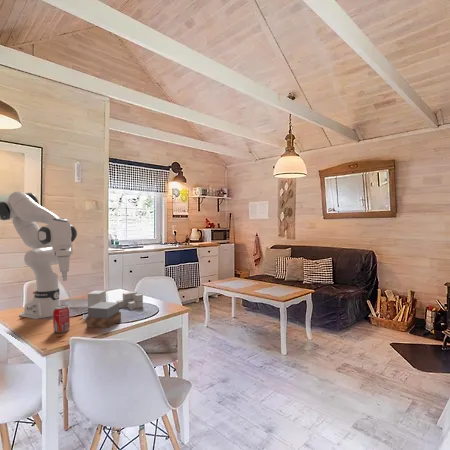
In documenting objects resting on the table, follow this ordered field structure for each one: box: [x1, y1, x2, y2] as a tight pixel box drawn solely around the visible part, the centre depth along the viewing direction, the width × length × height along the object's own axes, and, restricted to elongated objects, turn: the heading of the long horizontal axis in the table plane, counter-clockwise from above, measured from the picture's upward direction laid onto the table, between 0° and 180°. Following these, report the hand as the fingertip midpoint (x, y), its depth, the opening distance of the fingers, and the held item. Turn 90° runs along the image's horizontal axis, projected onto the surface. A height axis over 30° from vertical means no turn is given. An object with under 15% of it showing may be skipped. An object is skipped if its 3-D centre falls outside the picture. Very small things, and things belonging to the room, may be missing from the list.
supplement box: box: [87, 290, 107, 308], centre depth 181 cm, size 7×7×13 cm
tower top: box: [87, 301, 120, 319], centre depth 164 cm, size 11×11×5 cm
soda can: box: [52, 304, 71, 334], centre depth 154 cm, size 7×7×12 cm
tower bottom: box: [86, 311, 122, 329], centre depth 165 cm, size 12×12×5 cm
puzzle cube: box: [115, 290, 144, 310], centre depth 194 cm, size 12×12×8 cm
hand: (64, 278), depth 155 cm, fingers open, 8 cm apart
